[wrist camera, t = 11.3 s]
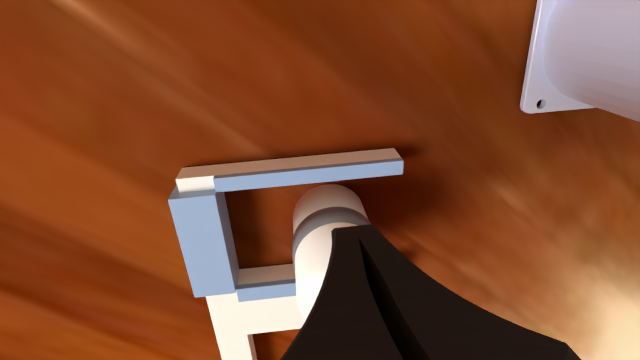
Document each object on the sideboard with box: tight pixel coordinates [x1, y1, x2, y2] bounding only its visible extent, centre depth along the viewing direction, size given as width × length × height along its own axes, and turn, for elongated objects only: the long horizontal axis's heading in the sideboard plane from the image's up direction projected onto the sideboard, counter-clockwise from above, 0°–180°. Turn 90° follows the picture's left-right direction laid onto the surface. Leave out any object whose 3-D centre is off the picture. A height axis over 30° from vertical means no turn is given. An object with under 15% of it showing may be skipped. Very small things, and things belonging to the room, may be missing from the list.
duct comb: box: [168, 148, 403, 360], centre depth 25 cm, size 12×19×2 cm, turn 4°
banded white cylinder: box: [292, 184, 371, 319], centre depth 20 cm, size 5×5×7 cm
